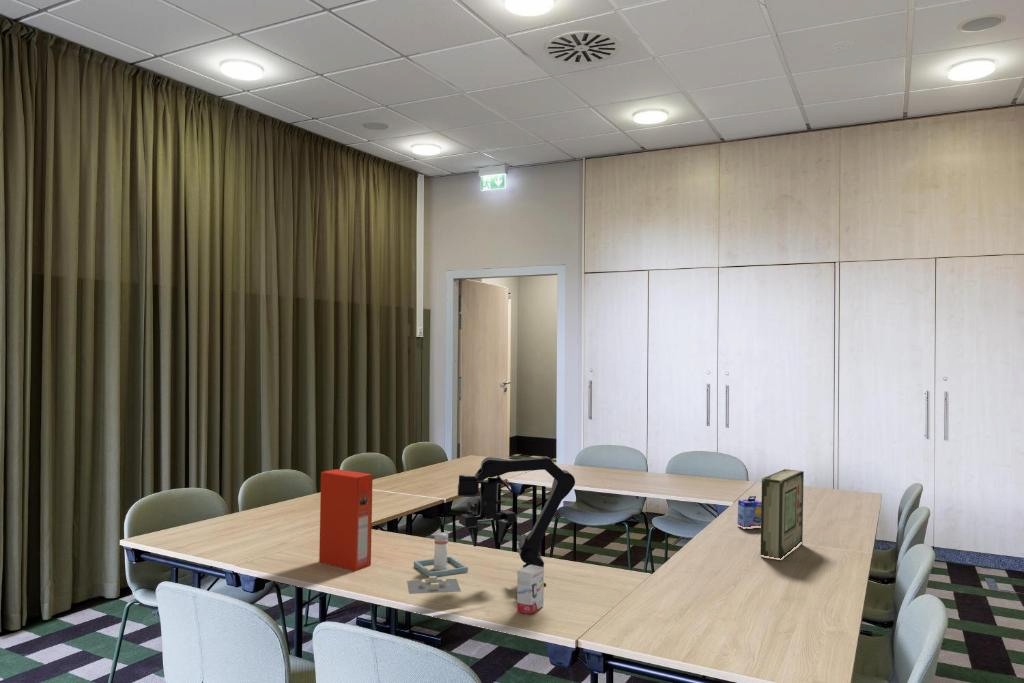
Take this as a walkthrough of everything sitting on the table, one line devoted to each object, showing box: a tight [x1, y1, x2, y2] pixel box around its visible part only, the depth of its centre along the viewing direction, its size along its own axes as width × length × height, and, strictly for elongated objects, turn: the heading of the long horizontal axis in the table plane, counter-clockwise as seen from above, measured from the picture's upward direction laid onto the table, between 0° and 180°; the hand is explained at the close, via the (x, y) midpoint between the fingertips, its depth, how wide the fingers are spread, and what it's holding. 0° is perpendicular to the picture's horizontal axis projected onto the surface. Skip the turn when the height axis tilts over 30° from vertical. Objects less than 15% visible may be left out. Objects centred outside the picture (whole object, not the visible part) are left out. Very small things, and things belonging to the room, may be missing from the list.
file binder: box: [318, 468, 374, 572], centre depth 243 cm, size 8×17×32 cm, turn 59°
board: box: [406, 576, 462, 595], centre depth 220 cm, size 16×12×3 cm
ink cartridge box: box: [737, 495, 762, 527], centre depth 309 cm, size 10×6×14 cm, turn 107°
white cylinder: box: [433, 531, 449, 571], centre depth 238 cm, size 5×5×12 cm
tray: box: [413, 555, 469, 578], centre depth 237 cm, size 14×14×2 cm
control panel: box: [760, 468, 805, 559], centre depth 274 cm, size 30×8×30 cm, turn 143°
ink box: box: [516, 565, 545, 615], centre depth 205 cm, size 9×5×12 cm, turn 150°
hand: (487, 544), depth 225 cm, fingers open, 9 cm apart
